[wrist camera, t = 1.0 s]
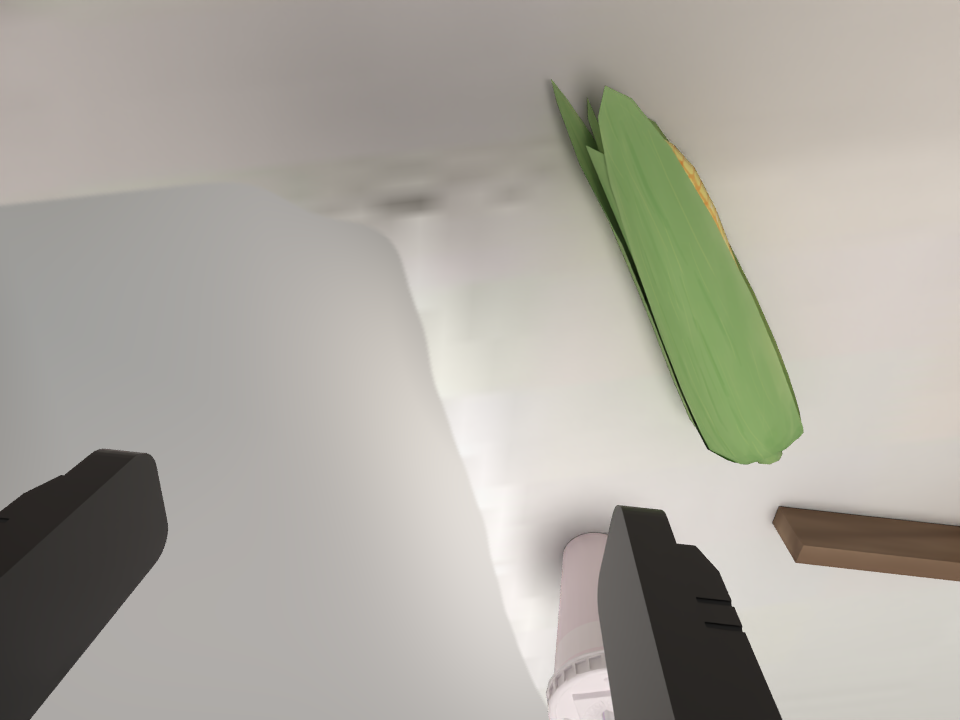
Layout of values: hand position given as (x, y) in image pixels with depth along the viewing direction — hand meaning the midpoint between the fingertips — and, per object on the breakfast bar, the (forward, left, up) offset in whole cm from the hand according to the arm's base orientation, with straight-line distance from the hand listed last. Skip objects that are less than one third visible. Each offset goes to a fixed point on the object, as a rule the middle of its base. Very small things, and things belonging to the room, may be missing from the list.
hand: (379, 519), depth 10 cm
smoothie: (+18, +9, -19) cm, 27 cm away
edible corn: (0, +10, -19) cm, 21 cm away
